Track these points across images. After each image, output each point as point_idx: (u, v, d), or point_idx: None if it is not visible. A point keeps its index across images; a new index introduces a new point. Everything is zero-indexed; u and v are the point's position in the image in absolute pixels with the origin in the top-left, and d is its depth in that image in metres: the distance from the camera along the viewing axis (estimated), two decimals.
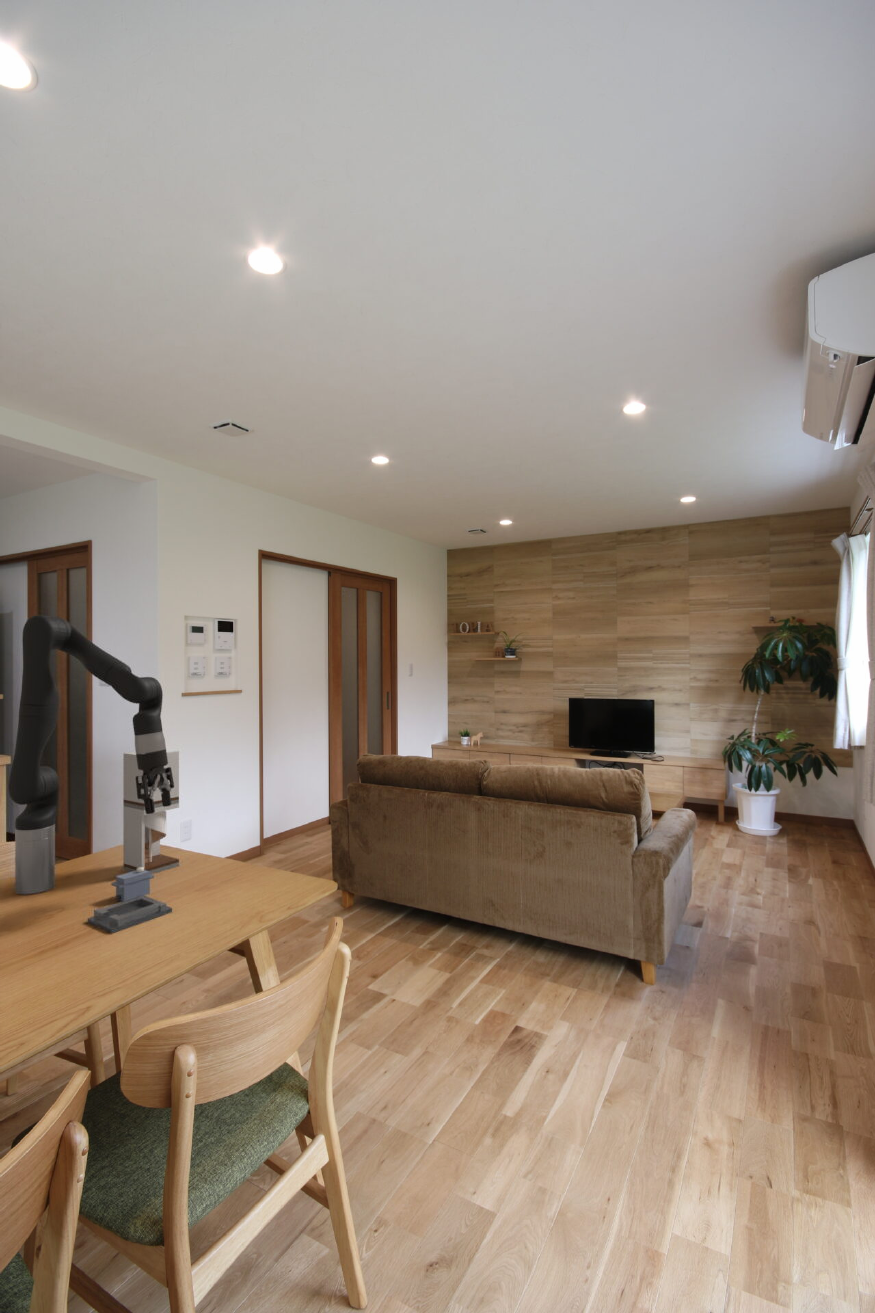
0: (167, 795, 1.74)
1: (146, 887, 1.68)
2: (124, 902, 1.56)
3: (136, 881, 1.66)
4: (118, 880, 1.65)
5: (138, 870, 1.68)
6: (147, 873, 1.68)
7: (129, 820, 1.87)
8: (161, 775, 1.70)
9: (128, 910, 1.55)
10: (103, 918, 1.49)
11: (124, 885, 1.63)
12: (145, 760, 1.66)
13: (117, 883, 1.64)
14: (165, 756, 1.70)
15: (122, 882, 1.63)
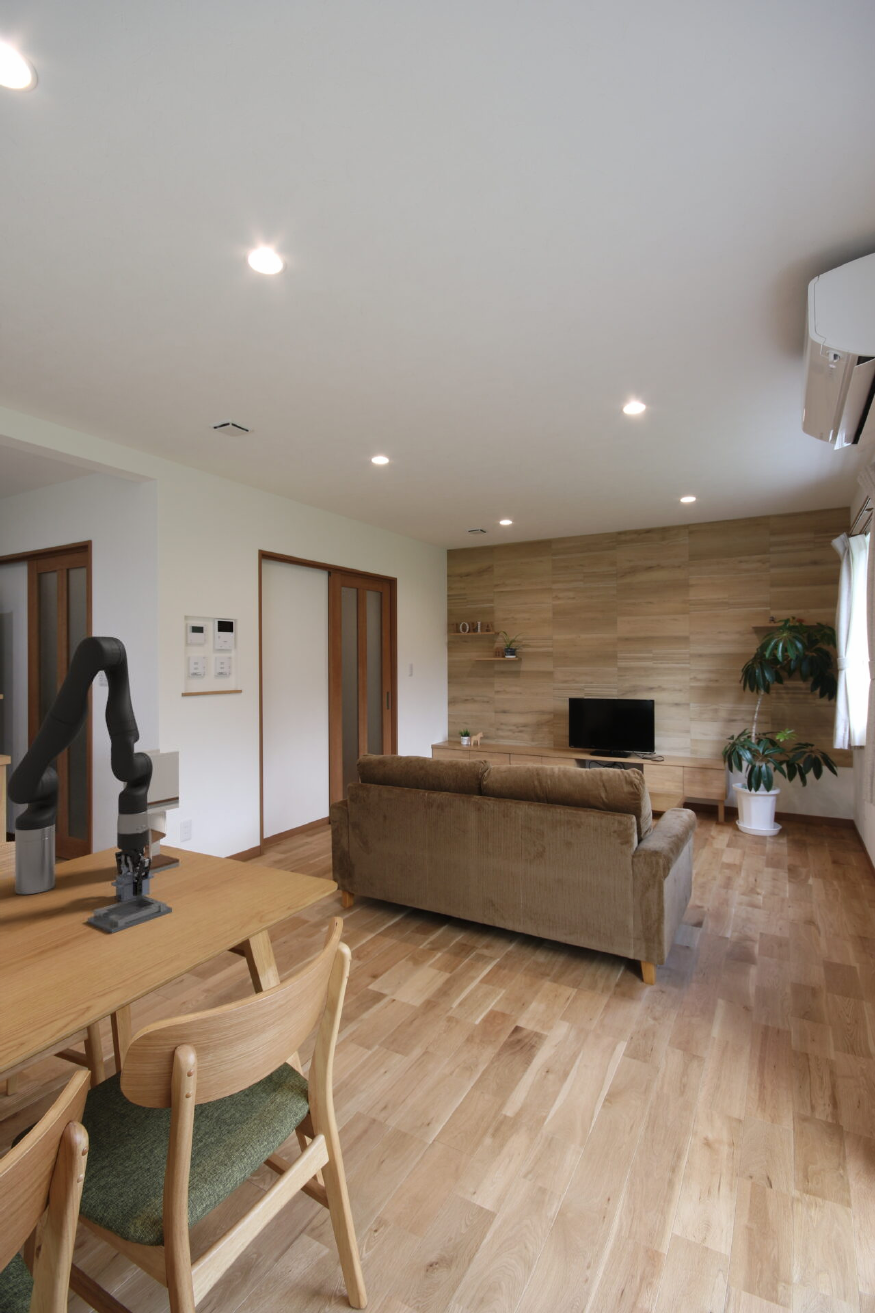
0: None
1: (146, 887, 1.68)
2: (124, 902, 1.56)
3: None
4: (118, 879, 1.65)
5: None
6: None
7: None
8: None
9: (128, 910, 1.55)
10: (103, 918, 1.49)
11: (124, 885, 1.63)
12: (142, 839, 1.65)
13: (117, 883, 1.64)
14: None
15: (122, 882, 1.63)
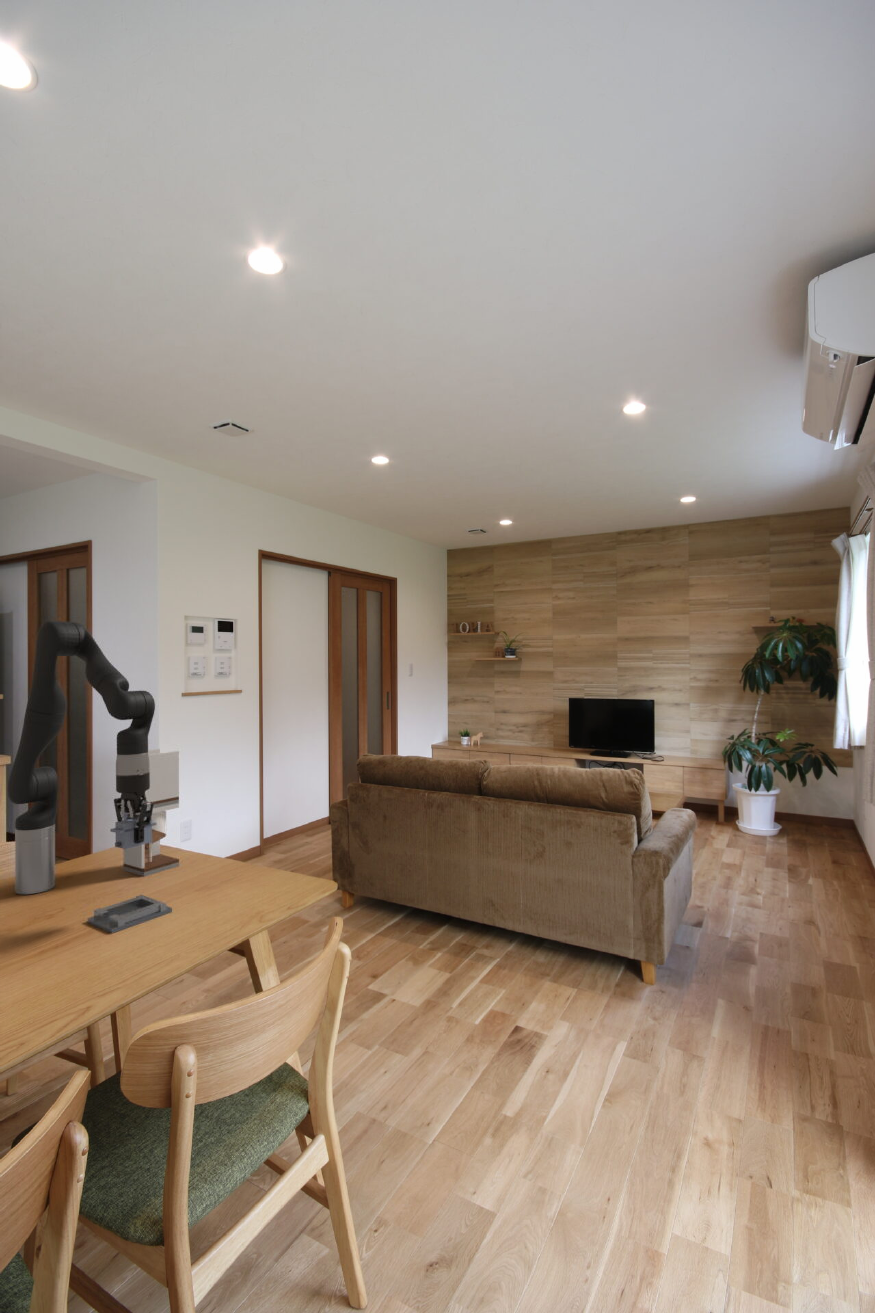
0: None
1: (148, 834, 1.56)
2: (124, 902, 1.56)
3: None
4: (117, 825, 1.53)
5: None
6: None
7: None
8: None
9: (128, 910, 1.55)
10: (103, 918, 1.49)
11: (124, 830, 1.51)
12: (143, 782, 1.53)
13: (117, 829, 1.52)
14: None
15: (122, 827, 1.52)
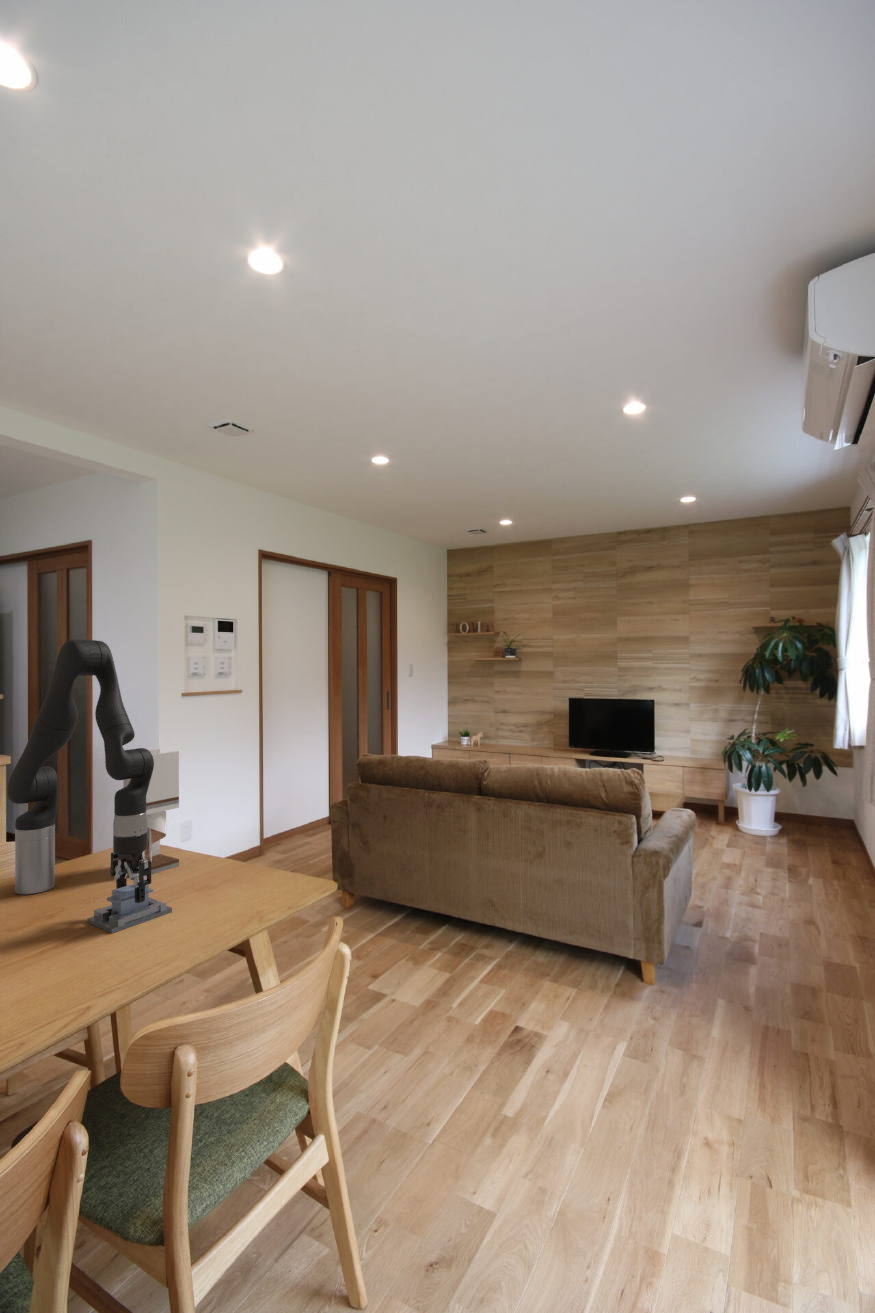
0: (124, 882, 1.56)
1: (145, 902, 1.54)
2: None
3: (134, 896, 1.52)
4: (114, 894, 1.51)
5: None
6: (146, 887, 1.54)
7: None
8: None
9: None
10: (103, 918, 1.49)
11: (121, 900, 1.49)
12: (140, 843, 1.51)
13: (113, 898, 1.50)
14: None
15: (118, 897, 1.50)
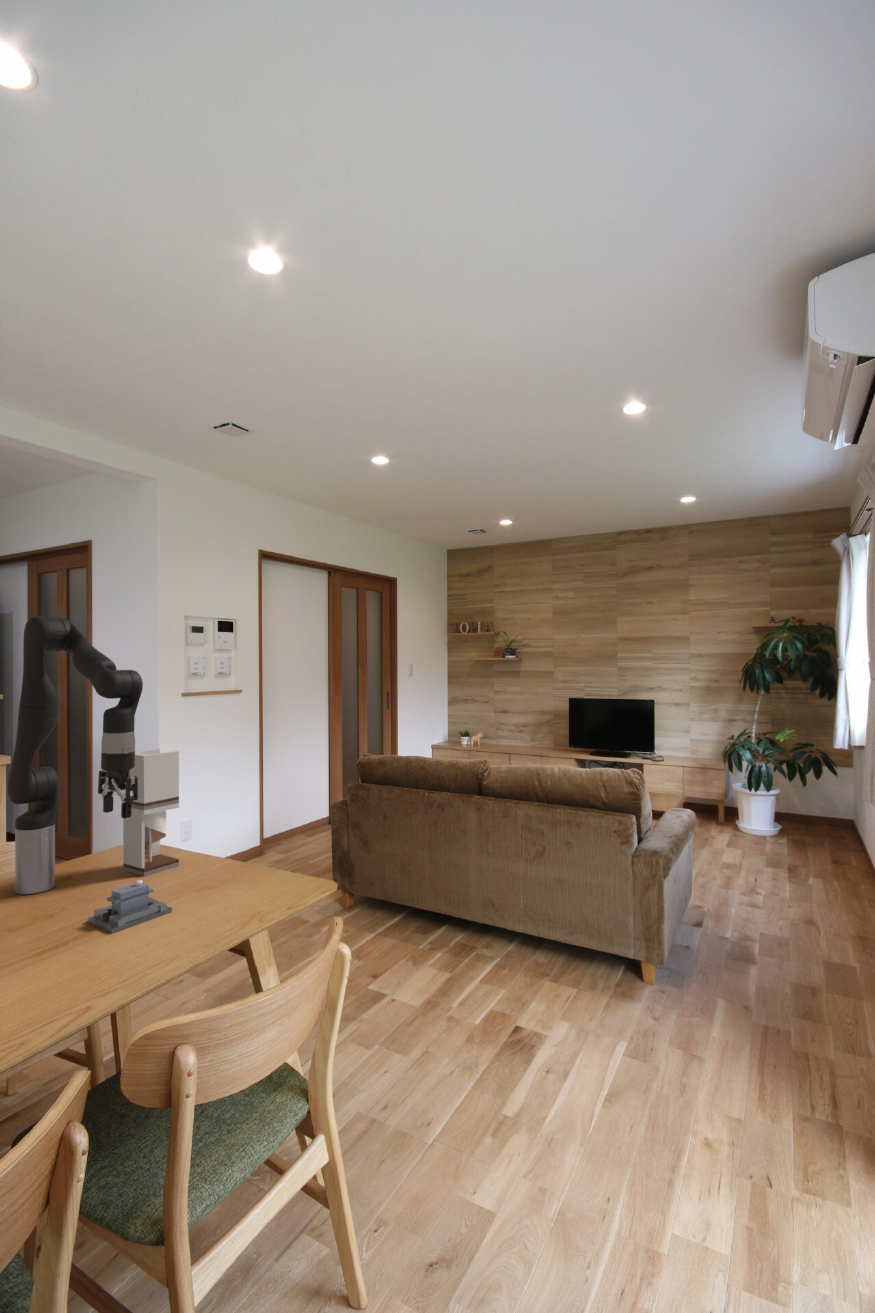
0: (111, 800, 1.59)
1: (145, 902, 1.54)
2: None
3: (134, 896, 1.52)
4: (114, 894, 1.51)
5: (136, 883, 1.54)
6: (146, 887, 1.54)
7: (129, 820, 1.87)
8: None
9: None
10: (103, 918, 1.49)
11: (121, 900, 1.49)
12: (127, 760, 1.55)
13: (113, 898, 1.50)
14: None
15: (118, 897, 1.50)
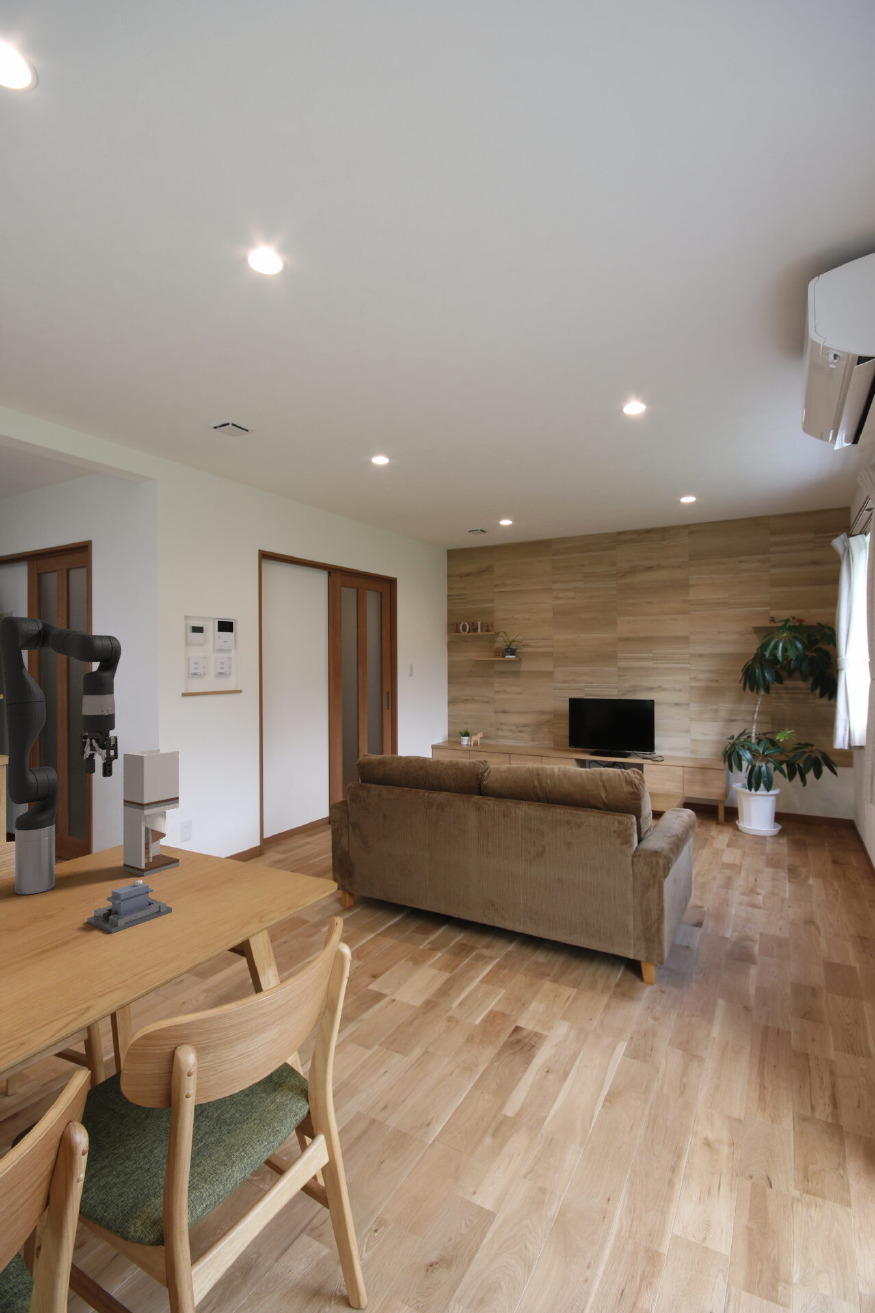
0: (93, 762, 1.65)
1: (145, 902, 1.54)
2: None
3: (134, 896, 1.52)
4: (114, 894, 1.51)
5: (136, 883, 1.54)
6: (146, 887, 1.54)
7: (129, 820, 1.87)
8: None
9: None
10: (103, 918, 1.49)
11: (121, 900, 1.49)
12: (107, 721, 1.60)
13: (113, 898, 1.50)
14: None
15: (118, 897, 1.50)
